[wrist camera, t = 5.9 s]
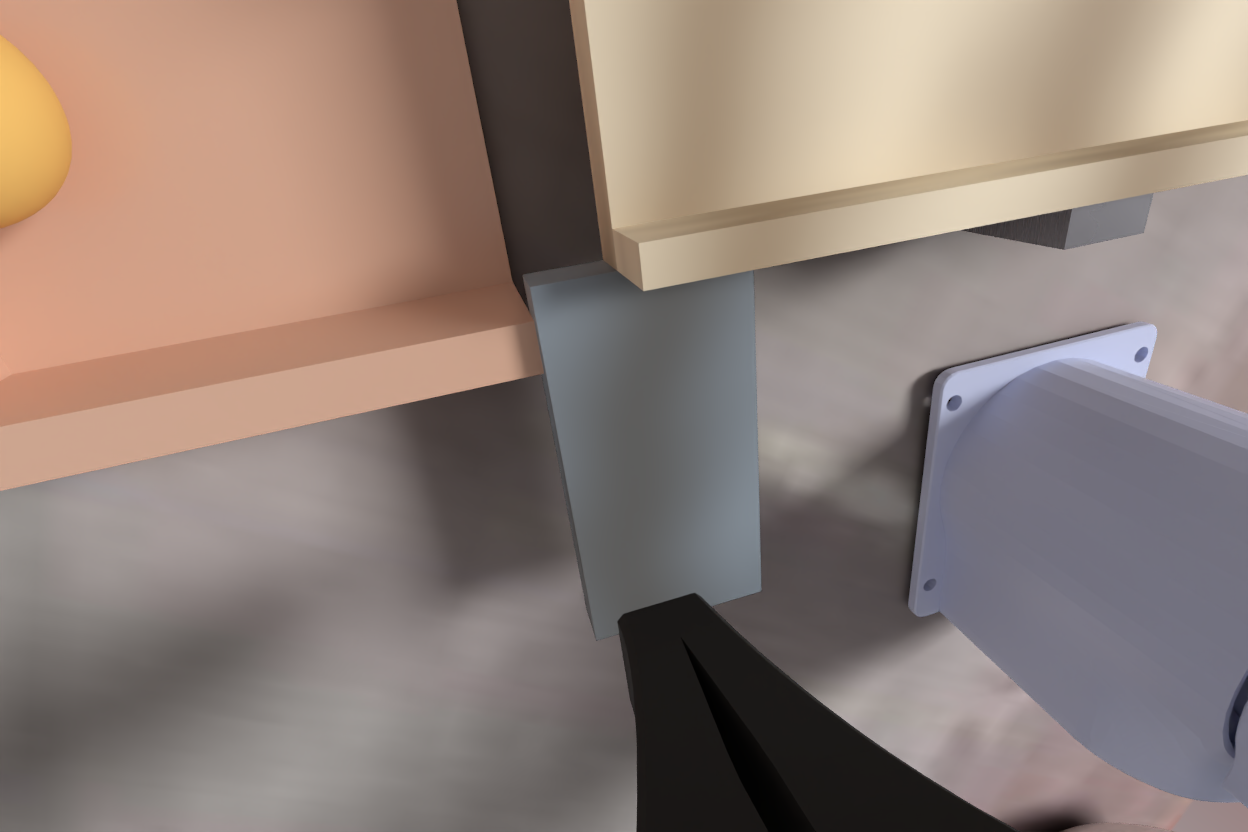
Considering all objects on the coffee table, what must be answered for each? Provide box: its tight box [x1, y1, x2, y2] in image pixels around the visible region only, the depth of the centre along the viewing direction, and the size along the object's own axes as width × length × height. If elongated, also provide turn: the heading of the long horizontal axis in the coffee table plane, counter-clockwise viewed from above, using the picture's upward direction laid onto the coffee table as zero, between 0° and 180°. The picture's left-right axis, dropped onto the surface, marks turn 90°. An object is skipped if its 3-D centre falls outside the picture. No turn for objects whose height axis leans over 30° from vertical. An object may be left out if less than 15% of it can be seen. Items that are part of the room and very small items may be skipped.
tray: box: [0, 0, 544, 491], centre depth 9 cm, size 10×11×4 cm
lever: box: [523, 0, 1248, 641], centre depth 12 cm, size 22×15×3 cm
